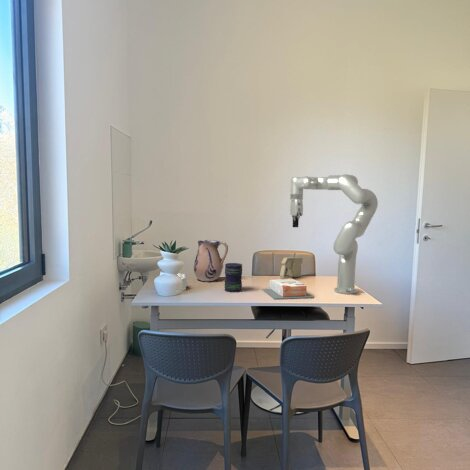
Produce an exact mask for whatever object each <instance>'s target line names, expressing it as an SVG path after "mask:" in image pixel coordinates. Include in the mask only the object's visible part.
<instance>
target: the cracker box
mask: <svg viewBox="0 0 470 470" xmlns="http://www.w3.org/2000/svg"><path fill="white" fill-rule="evenodd" d="M268 285H269V288H268V289H271V290H273V291H274V292H276V293H277V294H279V295H280V296H282V297H289V296H306V293H307V287H308V285H306V284H304V283H302V282H301V281H298V280H296V279H294V278H293V277H292V278H285V279H280V278H269V284H268Z"/></svg>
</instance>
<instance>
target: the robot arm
mask: <svg viewBox="0 0 470 470" xmlns="http://www.w3.org/2000/svg"><path fill="white" fill-rule="evenodd" d="M304 190H315V191H316V190H319V191H320V190H322V191H323V190H327V191H341V192H342V193H344V195H345V196H346V197H347V198H348V199H349V200H350V201H352V202H353V204H356V205H360V207H359V209H358V211H356V215H354V217H353V219H352V220H349V221H347V222H346V223H344V225H343V226H342V227H341V229H340V231H339V233H338V235H337V236H336V238H335V240H334V242H333V247H332V248H333V251H334V253H336V254H337V255H338V263H337V264H338V266H337V282H336V283H337V287H334V289H333V290H334V292H336V293H339V294H344V295H352V294H353V295H354V294H357V293H358V290H357V289H356V288H355V282H356V280H355V279H356V263H357V262H356V261H357V253H358V249H359V245H358V242H357V238H360V237H362V236H363V235H364V234H365V233H366V230H367V229H368V226H369V225H370V223H371V221H372V219H373V217H374V215H375V213H376V211H377V209H378V207H379V206H378V205H379V204H378V203H379V202H378V198H377V196H376V194H375V193H374V192H373V191H372V190H371V189H368V188H362V187H361V186H360V185H359V179H358V177H357V176H356V175H353V174H341V175H340V174H338V175H337V174H333V175H328V176H326V177H325V176H321V177H318V176H317V177H314V176H294V177H291V178H290V207H289V208H290V209H289V214H290V215H291V218H292V228H299V221H300V218H301V217H303V215H304V205H303V200H304V199H303V198H304Z"/></svg>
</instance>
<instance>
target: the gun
mask: <svg viewBox="0 0 470 470" xmlns="http://www.w3.org/2000/svg"><path fill="white" fill-rule="evenodd" d="M303 261H304V260H303V257H300V256H299V257H298V256H297V257H291V256H290V257H283V259H282V260H281V262H280V263H281V268H280V273H279V279H285V278H292V279H293V278H300V277H302V264H303ZM288 272H289V274H288ZM287 274H288V275H287Z"/></svg>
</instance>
